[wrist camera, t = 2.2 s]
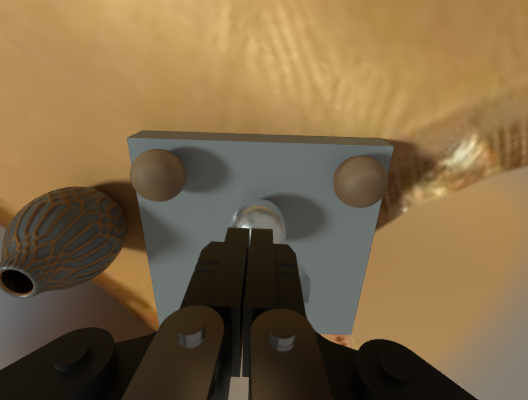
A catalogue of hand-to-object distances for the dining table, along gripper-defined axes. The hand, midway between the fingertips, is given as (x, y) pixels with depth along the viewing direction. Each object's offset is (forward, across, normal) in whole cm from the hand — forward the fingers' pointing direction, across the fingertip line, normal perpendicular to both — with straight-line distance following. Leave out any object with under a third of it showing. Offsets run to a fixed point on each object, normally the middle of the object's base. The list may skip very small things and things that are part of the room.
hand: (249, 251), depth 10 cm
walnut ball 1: (+9, +6, +1) cm, 11 cm away
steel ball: (+9, 0, +4) cm, 10 cm away
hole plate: (+13, 0, +8) cm, 15 cm away
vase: (+14, +14, +6) cm, 20 cm away
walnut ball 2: (+9, -7, 0) cm, 11 cm away
